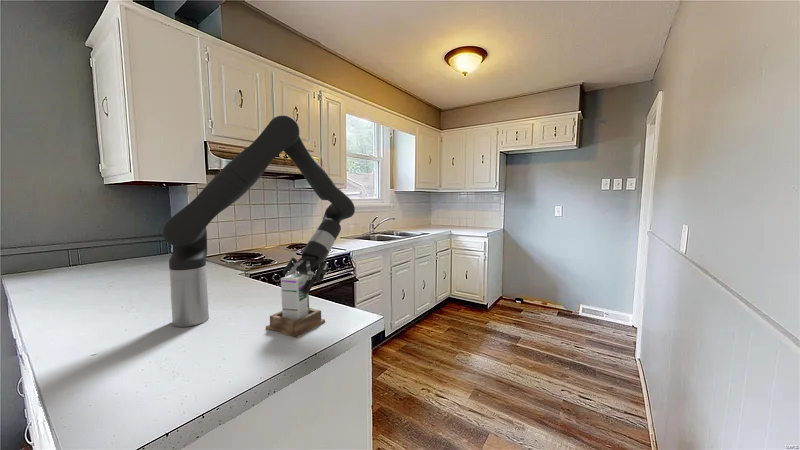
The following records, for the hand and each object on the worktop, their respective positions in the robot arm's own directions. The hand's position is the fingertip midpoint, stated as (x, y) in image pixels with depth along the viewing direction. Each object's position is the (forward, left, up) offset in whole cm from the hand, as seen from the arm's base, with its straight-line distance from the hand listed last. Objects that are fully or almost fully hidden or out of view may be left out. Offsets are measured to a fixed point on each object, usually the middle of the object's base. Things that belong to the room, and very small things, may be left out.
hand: (293, 290), depth 90 cm
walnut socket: (0, +1, -11) cm, 11 cm away
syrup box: (0, +1, -10) cm, 11 cm away
